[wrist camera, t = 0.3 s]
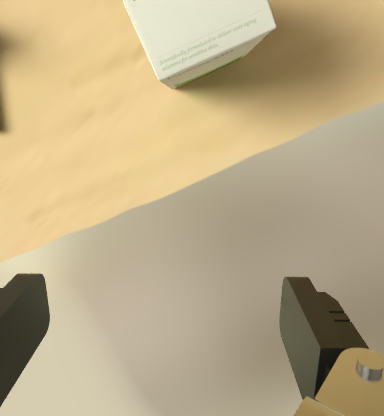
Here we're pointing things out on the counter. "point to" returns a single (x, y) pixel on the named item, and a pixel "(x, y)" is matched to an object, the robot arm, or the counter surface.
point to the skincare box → (197, 34)
